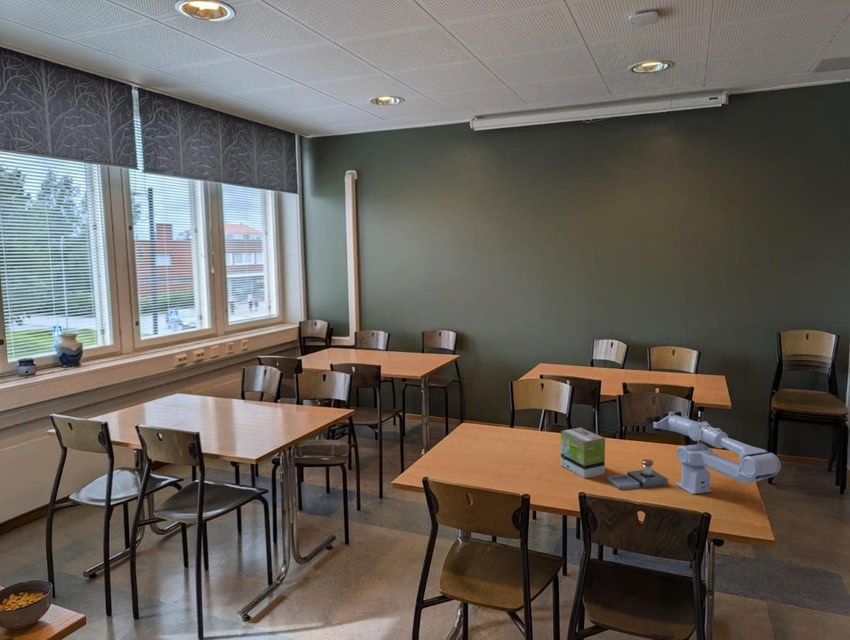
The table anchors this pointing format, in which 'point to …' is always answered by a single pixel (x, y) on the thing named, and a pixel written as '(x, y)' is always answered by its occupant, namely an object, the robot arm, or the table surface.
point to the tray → (623, 482)
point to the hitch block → (648, 479)
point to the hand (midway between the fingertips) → (655, 417)
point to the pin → (647, 468)
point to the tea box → (583, 452)
